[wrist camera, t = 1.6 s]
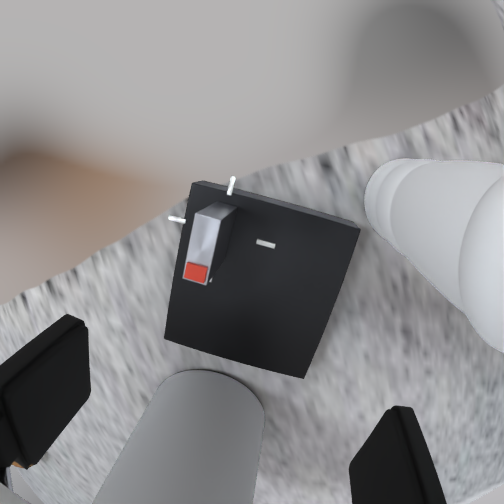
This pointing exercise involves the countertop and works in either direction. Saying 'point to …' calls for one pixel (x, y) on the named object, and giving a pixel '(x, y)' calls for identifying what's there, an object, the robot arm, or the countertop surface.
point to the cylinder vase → (191, 445)
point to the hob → (262, 281)
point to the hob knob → (208, 242)
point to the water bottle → (448, 231)
